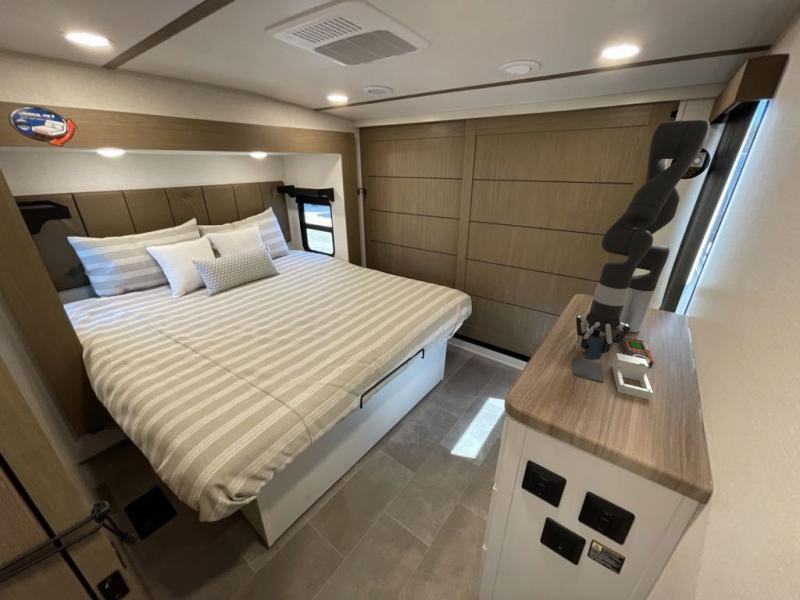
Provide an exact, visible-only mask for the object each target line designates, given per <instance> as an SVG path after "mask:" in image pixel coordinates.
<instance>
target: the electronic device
mask: <svg viewBox="0 0 800 600" xmlns="http://www.w3.org/2000/svg"><path fill="white" fill-rule="evenodd" d="M620 343H621V346H622V349H623V353H624V352H626V353H627V355H629V356H633V357H638V358H643V359H646V361H647V364H648V366H651V367H653V365H654V362H655V361H654V359H653V357H652V355H651V353H650V352H651V349H650V348H649V345H648V343H647V342H646V341H645V340H641V339H636V338H630V337H626V336H625V337H624V338H623V339H622V340H621V342H620Z"/></svg>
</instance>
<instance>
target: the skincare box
mask: <svg viewBox="0 0 800 600" xmlns="http://www.w3.org/2000/svg"><path fill="white" fill-rule="evenodd" d="M586 315H587V314H582V316H586ZM588 325H589V324H588V322H587V320H585V321H584V323H581V329H582V331H585V330H586V329H587V327H588ZM600 333H602V334H603V332H601V331H600ZM588 338H589V337H588ZM581 341H582V336H578V335H577V339H576V343H575V347H576V351H580V352H583V353H584V352H585V349H583V347H581Z"/></svg>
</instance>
